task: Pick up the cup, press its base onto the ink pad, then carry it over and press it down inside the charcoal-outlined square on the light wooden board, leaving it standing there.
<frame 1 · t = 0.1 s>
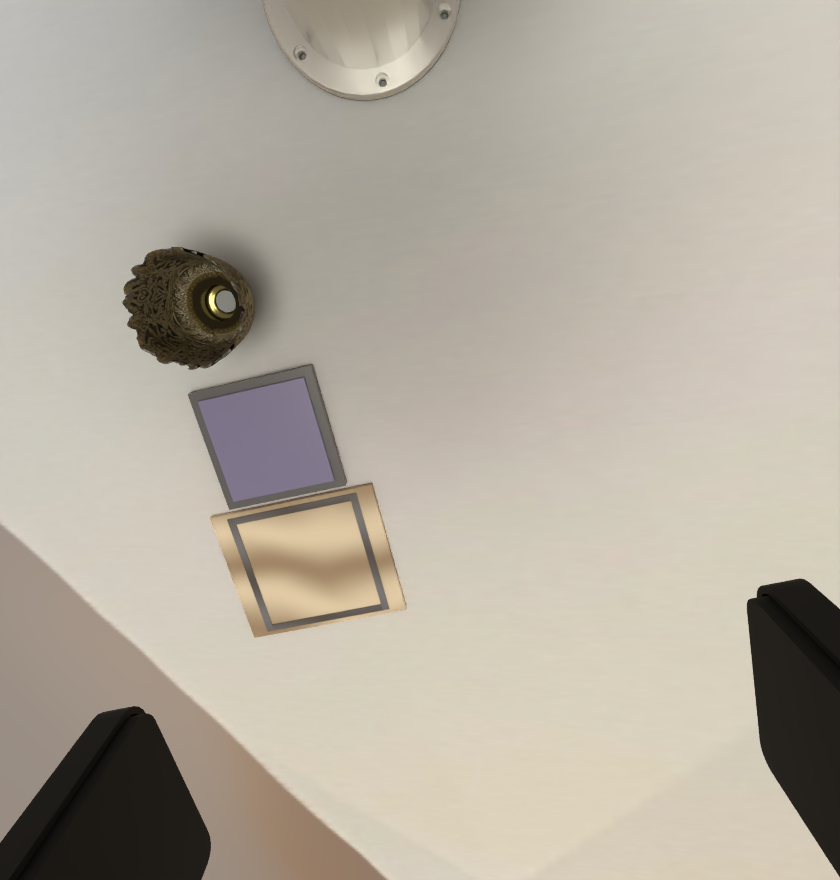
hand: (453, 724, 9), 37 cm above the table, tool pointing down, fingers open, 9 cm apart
cup: (227, 301, 43), on the table
ink pad: (270, 438, 46), on the table
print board: (311, 562, 50), on the table
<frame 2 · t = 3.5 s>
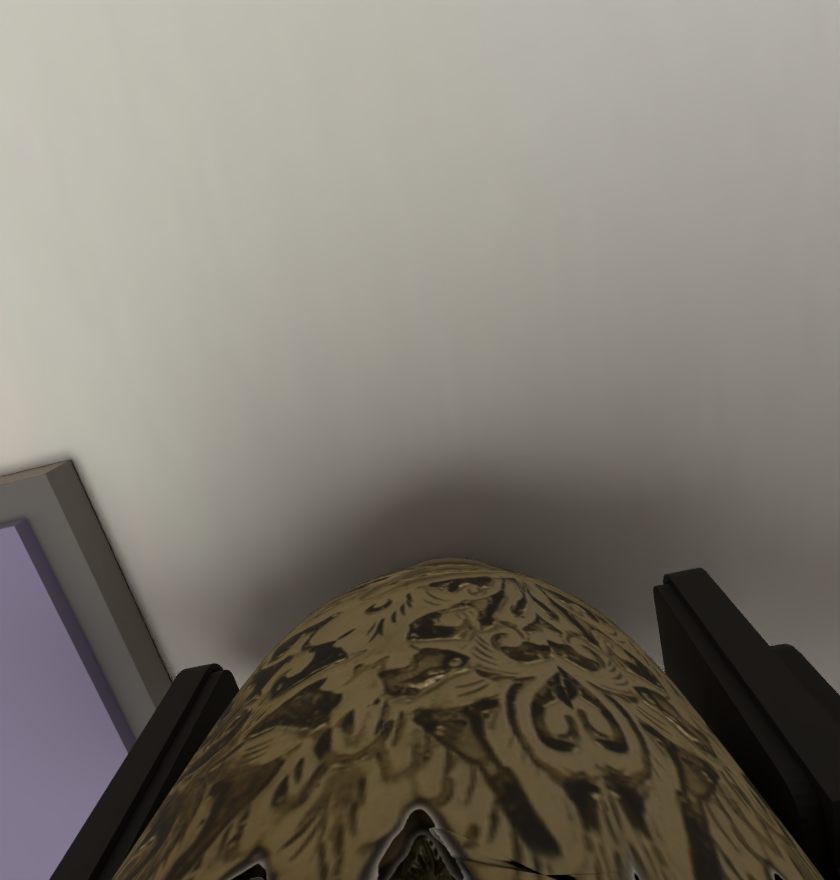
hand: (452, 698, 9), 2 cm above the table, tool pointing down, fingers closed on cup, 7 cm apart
cup: (451, 618, 12), on the table, touching gripper
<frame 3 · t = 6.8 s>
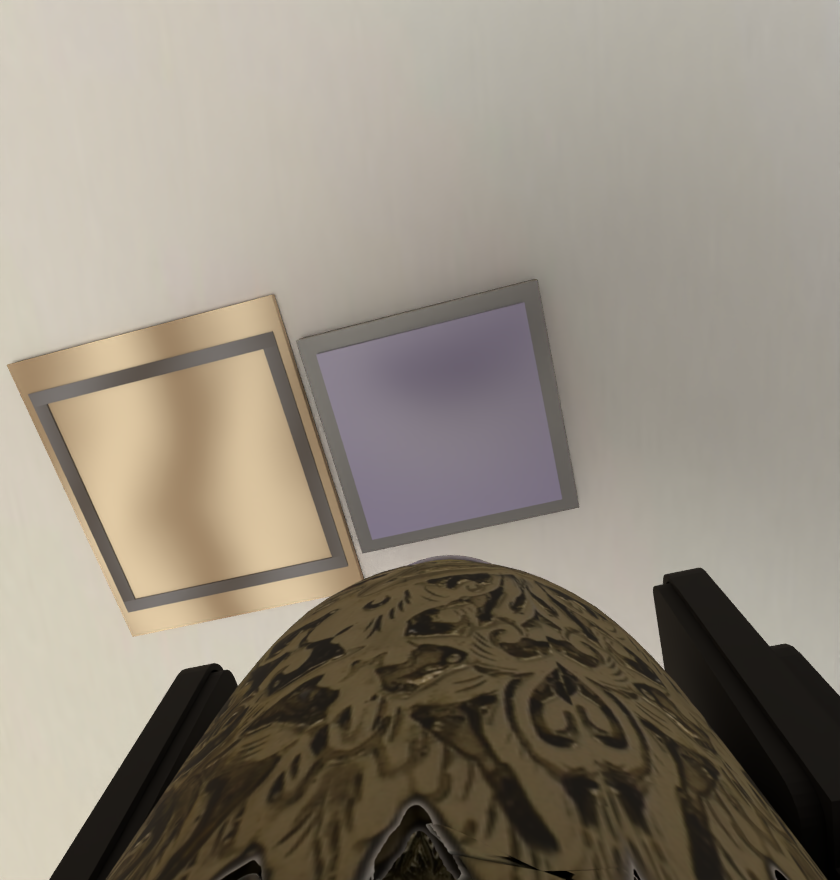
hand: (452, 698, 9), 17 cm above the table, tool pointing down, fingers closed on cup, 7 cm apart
cup: (451, 616, 11), point 14 cm above the table, touching gripper
ink pad: (442, 422, 25), on the table
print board: (198, 479, 26), on the table
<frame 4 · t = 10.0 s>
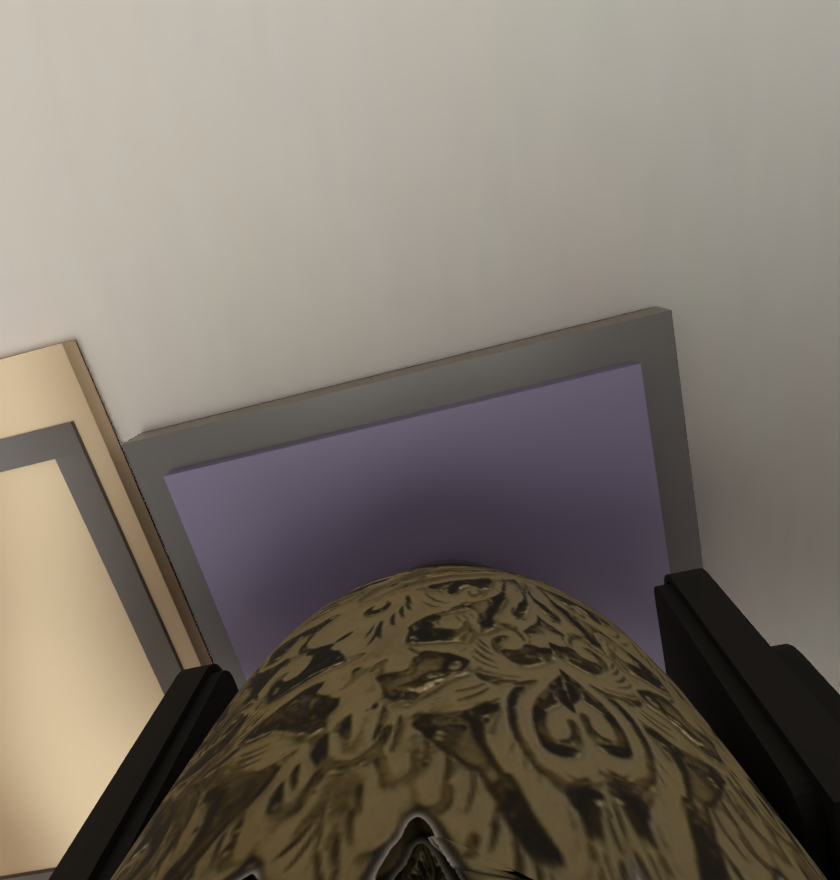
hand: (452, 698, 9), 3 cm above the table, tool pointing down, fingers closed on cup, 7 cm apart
cup: (452, 621, 11), point 1 cm above the table, touching gripper, ink pad
ink pad: (447, 599, 12), on the table
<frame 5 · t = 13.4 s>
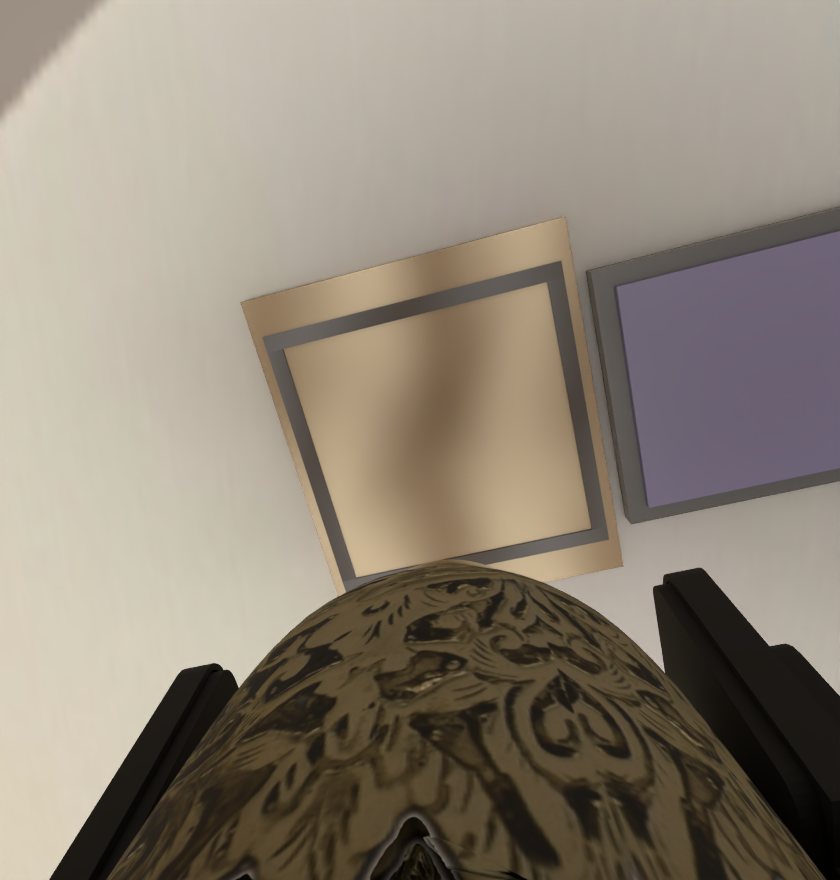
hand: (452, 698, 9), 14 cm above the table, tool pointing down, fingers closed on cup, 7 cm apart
cup: (452, 621, 11), point 12 cm above the table, touching gripper
ink pad: (739, 371, 22), on the table
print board: (443, 439, 23), on the table
when the fingers open (2 cm above the table, at t = 16.5 s): cup stays where it is, resting on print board.
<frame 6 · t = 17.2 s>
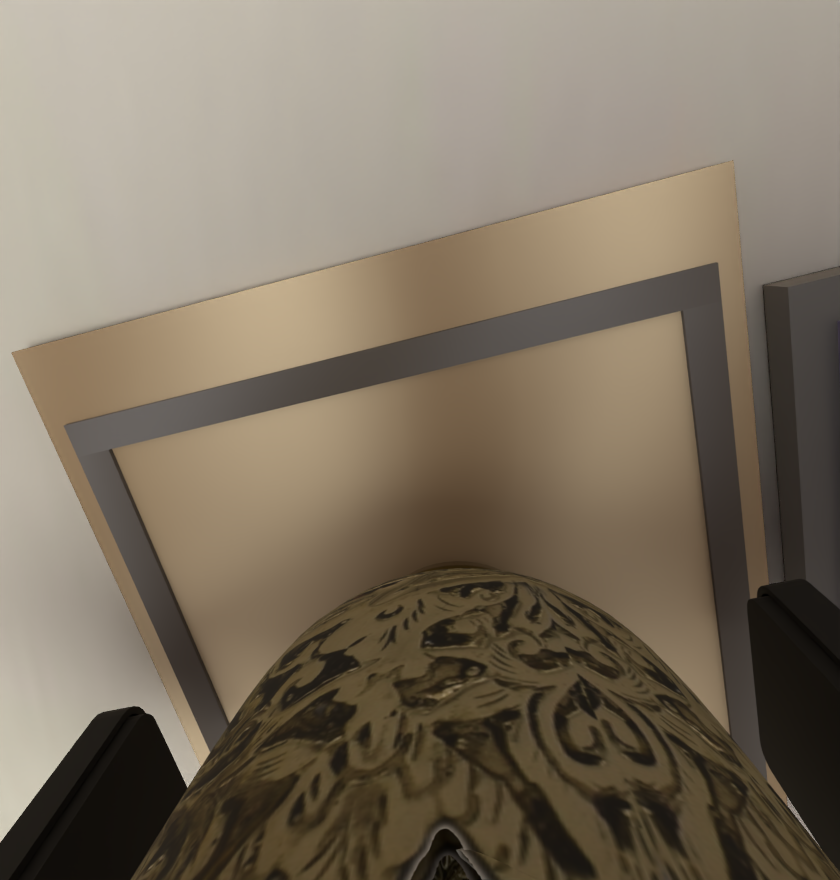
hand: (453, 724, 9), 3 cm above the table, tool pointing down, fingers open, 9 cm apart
cup: (457, 622, 11), resting on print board
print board: (448, 616, 12), on the table
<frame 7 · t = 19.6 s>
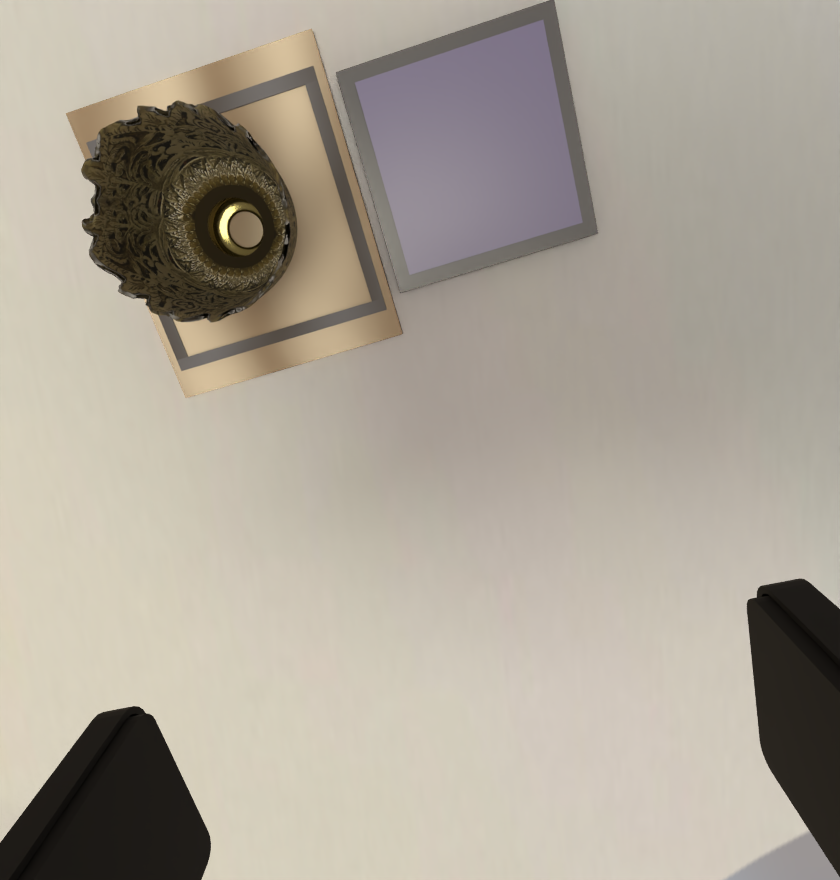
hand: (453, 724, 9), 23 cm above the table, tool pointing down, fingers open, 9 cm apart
cup: (247, 229, 28), resting on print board
ink pad: (470, 158, 27), on the table
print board: (245, 230, 28), on the table
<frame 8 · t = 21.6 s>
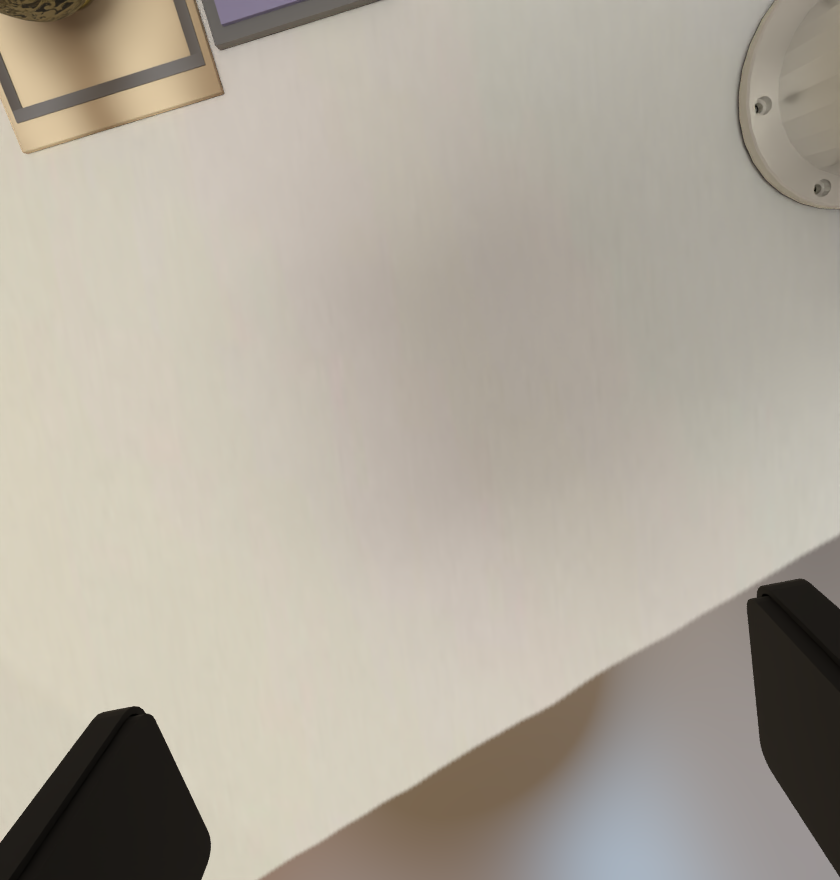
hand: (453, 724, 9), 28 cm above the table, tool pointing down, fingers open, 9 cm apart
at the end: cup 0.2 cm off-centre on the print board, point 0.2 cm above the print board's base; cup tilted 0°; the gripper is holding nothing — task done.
